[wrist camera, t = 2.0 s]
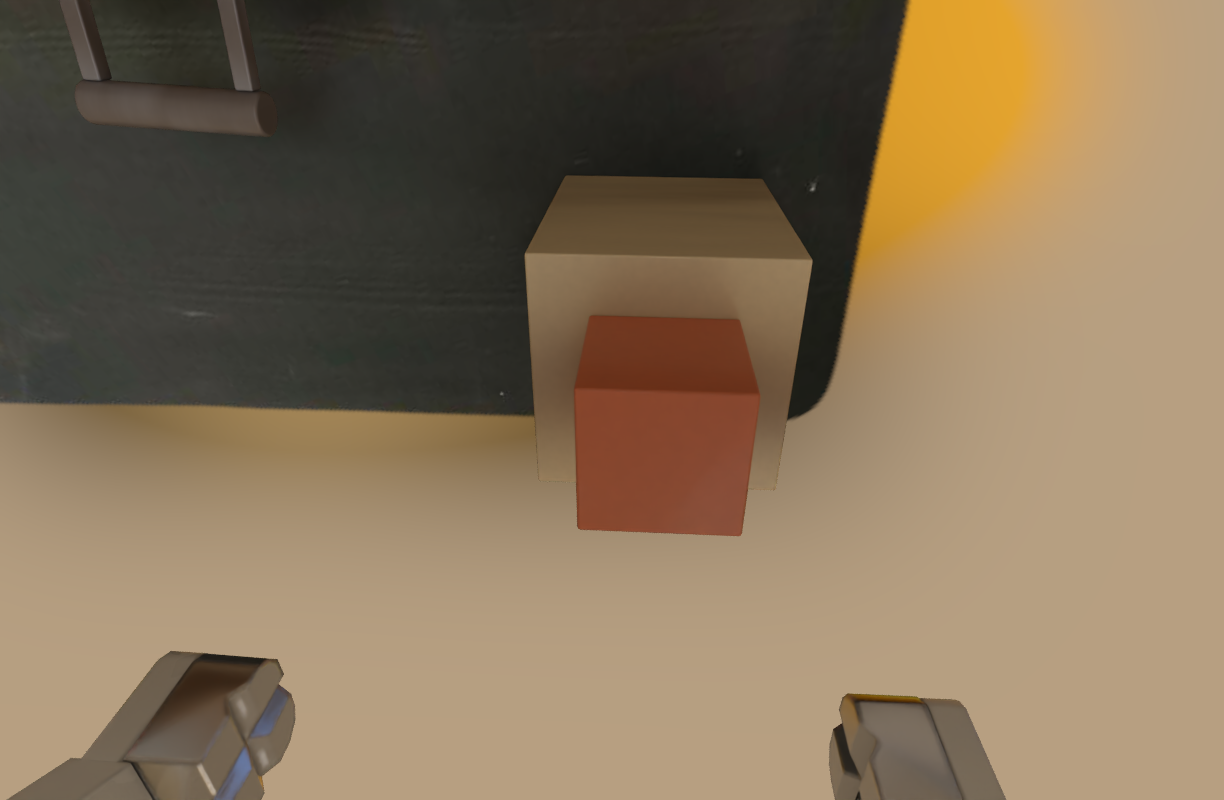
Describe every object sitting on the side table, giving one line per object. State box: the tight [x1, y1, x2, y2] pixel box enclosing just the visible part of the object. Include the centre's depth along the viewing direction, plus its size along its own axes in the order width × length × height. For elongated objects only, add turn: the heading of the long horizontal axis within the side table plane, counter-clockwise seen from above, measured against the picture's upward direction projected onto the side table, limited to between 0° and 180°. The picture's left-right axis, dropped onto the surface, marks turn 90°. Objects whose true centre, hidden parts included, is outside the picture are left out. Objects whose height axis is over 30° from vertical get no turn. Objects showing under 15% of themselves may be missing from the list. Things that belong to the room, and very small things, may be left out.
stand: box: [525, 175, 813, 490], centre depth 25 cm, size 8×8×10 cm
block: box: [574, 316, 761, 536], centre depth 19 cm, size 4×4×4 cm
